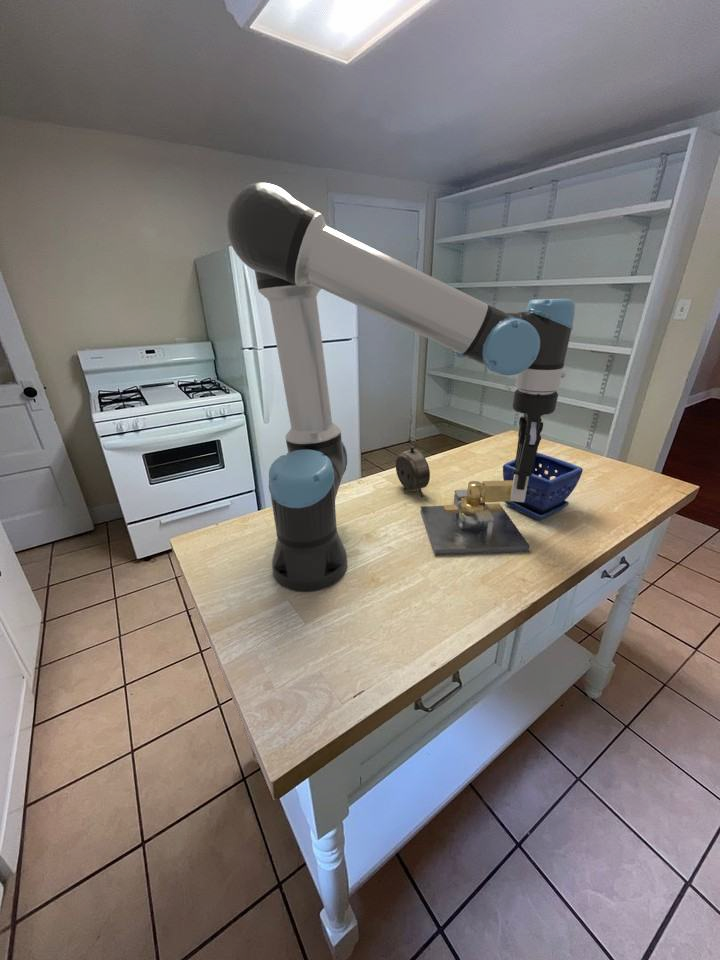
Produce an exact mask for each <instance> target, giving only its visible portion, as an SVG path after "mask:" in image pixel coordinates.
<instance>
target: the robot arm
mask: <svg viewBox="0 0 720 960" xmlns="http://www.w3.org/2000/svg"><path fill="white" fill-rule="evenodd" d="M226 217H227V218H226V228H227V230H226V231H227V235H228V240H229V241H230V245H231V247H232V249H233V250H234V252H235V254H236V256H237V257H238V258H239V259H240V260H241V262H242V263H244V264H245V265H246V266H247V267H248V268H250V269H251V270H254V274H255V279H256V286H257V290H258V293H260V295H262V296H263V298H265V299H266V300H267V301H268V303H269V307H270V314H271V315H270V316H271V319H272V326H273V331H274V337H275V343H276V349H277V354H278V359H279V365H280V370H281V376H282V383H283V388H284V394H285V400H286V406H287V411H288V417H289V423H290V429H289V430H288V431H287V433H286V434H285V442H286V446H287V447H286V448H287V452H286V454H282V455H280V456H279V457H278V458H276V459H274V460H273V462H272V464H271V465H270V467H269V470H268V490H269V493H270V498H271V505H272V513H273V518H274V525H275V526H274V527H275V531H276V537H277V539H276V542H275V547H274V551H273V555H272V560H271V567H272V573H273V577H274V579H275V580H276V582H277V583H279V585H280V586H282V587H284V588H286V589H288V590H292V591H297V592H313V591H318V590H322V589H325V588H327V587H329V586H332V585H333V584H335V583H336V582H338V581H340V579H341V578H342V577H343V576H344V575H345V573H346V571H347V568H348V554H347V550H346V548H345V546H344V544H343V541H342V539H341V537H340V535H339V532H338V530H337V515H336V513H337V512H336V498H337V494H338V492H339V488H340V486H341V482H342V479H343V477H344V474H345V473H346V470H347V466H348V453H347V448H346V446H345V445H344V442H343V441H342V432H341V428H340V427H339V426H338V425H336V424H335V423H334V422H333V418H332V410H331V409H332V408H331V403H330V402H331V401H330V393H329V387H328V386H329V385H328V377H327V371H326V370H327V369H326V362H325V353H324V347H323V346H324V345H323V337H322V331H321V323H320V316H319V307H318V299H317V297H318V294H319V293H320V292H321V289H322V290H323V291H325V292H328V293H330V294H332V295H334V296H337V297H339V298H341V299H343V300H344V301H347V302H349V303H351V304H354V305H356V306H358V307H360V308H362V309H364V310H367V311H369V312H371V313H372V314H375V315H377V316H379V317H382V318H383V319H385V320H388V321H390V322H391V323H394V324H396V325H398V326H401V327H403V328H405V329H407V330H410V331H412V332H414V333H416V334H418V335H420V336H422V337H424V338H427V339H429V340H431V341H432V342H435V343H438V344H439V345H441V346H444V347H446V348H447V349H450V350H453V351H454V354H455V357H457V358H461V359H469V360H473V361H475V362H477V363H479V364H481V365H484V366H486V367H487V369H488V370H490V371H491V372H493V373H496V374H498V375H502V376H515V375H516V379H515V388H517V389H516V390H515V391H514V394H513V395H514V396H513V400H512V401H513V402H512V403H513V404H512V409H513V410H514V411H516V412H517V413H521V414H523V416H520V417H519V419H518V427H519V428H518V434H517V436H518V440H517V448H516V454H515V459H514V460H515V463H516V465H515V469H517V470H513V472H512V474H514V479H513V485H512V491H511V497H510V499H511V501H516V502H524V501H525V496H526V490H527V485H528V480H529V476H530V477H531V475H532V470H533V466H534V462H535V457H536V453H538V448H539V445H540V443H541V441H542V435H541V432H543V429H544V421H542V416H544V415H545V416H546V415H550V414H553V413H554V412H555V411H556V408H557V402H558V398H559V397H558V396H559V392H557V391H558V390H559V389H560V387H561V386H560V385H561V381H562V380H561V379H563V378H565V377H566V375H567V374H566V372H565V371H564V367H565V361H566V356H567V352H568V348H569V343H570V339H571V334H572V330H573V329H574V327H573V326H574V320H575V309H576V305H575V302H574V301H573V300H572V299H569V298H540V299H537V298H535V299H531V300H530V301H529V302H528V305H527V308H526V309H525V311H521V312H505V311H503V310H500V309H498V308H496V307H495V306H491V305H489V304H488V303H485V302H484V301H482V300H480V299H478V298H476V297H474V296H472V295H470V294H467V293H465V292H464V291H461V290H459V289H457V288H455V287H453V286H451V285H449V284H447V283H445V282H443V281H441V280H439V279H437V278H434V277H433V276H431V275H428V274H427V273H424V272H422V271H421V270H418V269H416V268H414V267H412V266H410V265H409V264H408V265H407V264H406V263H404V262H402V261H400V260H398V259H396V258H394V257H392V256H389V255H388V254H385V253H383V252H381V251H380V250H377V249H375V248H373V247H371V246H369V245H367V244H365V243H363V242H361V241H359V240H356V239H354V238H352V237H351V236H348V235H346V234H345V233H342V232H340V231H338V230H336V229H334V228H332V227H330V226H328V225H327V224H326V221H325V218H324V215H323V214H322V213H320V212H318V211H316V210H314V209H312V208H310V207H309V206H307V205H305V204H304V203H302V202H301V201H299V200H297V199H295V198H294V197H293V196H292V195H291V194H290V193H289V192H288V191H287V190H285V189H283V187H280V186H278V185H275V184H273V183H269V182H254V183H251V184H248V185H246V186H245V187H243V188H241V189H240V190H239V192H237V193H236V194H235V196H234V197H233V198H232V201H231V203H230V205H229V207H228V211H227V215H226Z"/></svg>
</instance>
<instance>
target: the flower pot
mask: <svg viewBox="0 0 720 960" xmlns="http://www.w3.org/2000/svg"><path fill="white" fill-rule="evenodd" d="M515 465H516V463H515V459H513V460H510V461H508V462H505V463H504V464H503V465H502V479H503V481H506V480H513V479H514V474H512V472H513V470H517V469H515ZM540 465H541V466H540ZM583 470H584V468H582V467H581V466H578V465H576V464H574V463H570V462H568V461H565V460H562V459H560V458H559V459H558V458H556V457H553V456H549V455H548V454H547V455H546V454H543V453H541V452H537V453H536V457H535V462H534V466H533V470H532V475H531V477H530V476H529V480H528V486H527V491H526V496H525V501H524V502H516V501H508V502H504V503H505V504H506V505H507V506H508V507H510V508H513V509H514V510H516V511H518V512H521V513H522V514H524V515H527V516H528V517H531V518H533V519H534V520H536V521H540V520H543V519H545V518H547V517H549V516H551V515H553V514H555V513H557V512H559V511H561V510H563V509H564V508H566V507H567V506H568V505H569V504H570V503H569V502H568V501H567V500H566V499H567V498H568V497H569V496H570V495H571V494H572V493H573V491H574V490H575V488H576V487H577V485H578V483H579V481H580V479H581V476H582V473H583ZM546 472H547V473H546ZM552 477H554V478H553V479H551V478H552Z"/></svg>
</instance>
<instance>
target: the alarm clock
mask: <svg viewBox="0 0 720 960" xmlns="http://www.w3.org/2000/svg"><path fill="white" fill-rule="evenodd" d="M410 439H413V440H414V442H415V445H414V446H413V445H412V446H411V443H410ZM407 442H408V446H409V448H410V449H409V450H406V451H402V452H400V453H399V454H398V455H397V457H396V459H395V471H396V472H395V473H396V475H397V478H398V480H399V483H400V485H402V487H403V490H402V493H403V494H404V493H405V492H406V490H407V491H410V492H414V491H418V493H419V495H420V497H421V498H423V497H424V494H423V491H422V489H424V488H427V486H428V485H429V482H430V480H431V479H430V478H431V471H430V466H429V464H428V461H427V459H426V457H425V455H424V454H423V453H422V452H421V451H420V450H419V449H417V448H416V447H417V440H416V438H415V437H414V436H412V435H411V436H409V438H408V441H407Z"/></svg>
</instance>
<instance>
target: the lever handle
mask: <svg viewBox="0 0 720 960" xmlns="http://www.w3.org/2000/svg"><path fill="white" fill-rule="evenodd" d="M512 485H513V480H506V481H504V480H486V481H485V480H484V481H483V480H482V482H481V481H477V480H471V481H469V482H468V483H467V489H466V490H467V498H464V499H462V500H461V508H460V510H461V512H462V513H463V514H465V515H468V516H475V514H474V511H482V510H485V504H486V509H487V510H489V511H490V512H502V508H503V506H502V505H501V504H500V503H502V502H504V503H505V502H508V501H511V499H510V497H511V491H512ZM527 486H528V485H527ZM526 491H527V490H526ZM442 506H443V510H444V513H445V514H451V513H458V512H459V509H458V507H457V505H454V504H446V505H445V504H444V505H442Z"/></svg>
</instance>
